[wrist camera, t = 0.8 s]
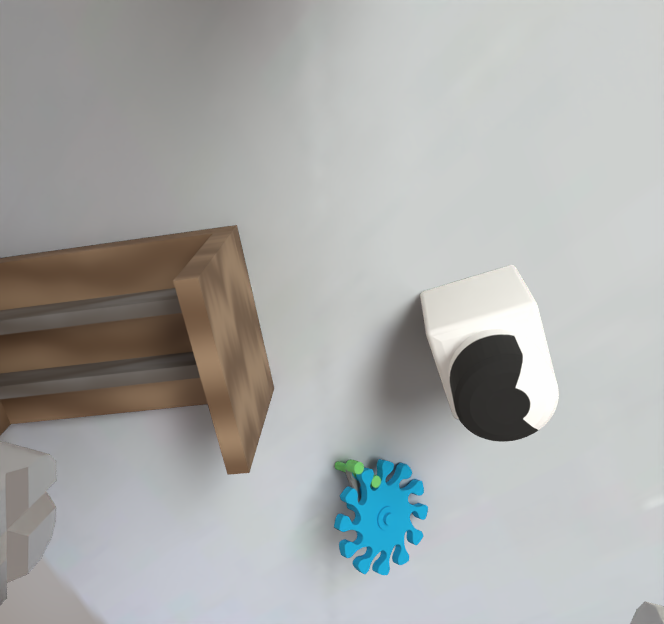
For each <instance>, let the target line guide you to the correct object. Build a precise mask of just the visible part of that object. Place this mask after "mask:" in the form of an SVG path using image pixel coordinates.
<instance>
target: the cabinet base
mask: <svg viewBox="0 0 664 624" xmlns="http://www.w3.org/2000/svg"><path fill="white" fill-rule="evenodd" d="M273 391H274V385H273V381H272V377H271V372H270V368H269V363H268V359H267V355H266V350H265V346H264V342H263V337H262V333H261V328H260V324H259V320H258V315H257V311H256V307H255V302H254V298H253V293H252V289H251V285H250V280H249V276H248V272H247V267H246V263H245V258H244V254H243V250H242V245H241V241H240V237H239V232H238V228H237V225H234V226H227V227H220V228H213V229H206V230H198V231H191V232H184V233H177V234H170V235H163V236H155V237H148V238H141V239H134V240H127V241H120V242H112V243H105V244H98V245H91V246H84V247H77V248H69V249H62V250H55V251H48V252H41V253H34V254H26V255H19V256H12V257H5V258H0V435H1V434H2V433H3V432H4V431H5V430H6V429H7V428H8V427H9V426H10V425H11V424H17V423H27V422H37V421H46V420H56V419H66V418H76V417H86V416H96V415H105V414H115V413H125V412H135V411H145V410H154V409H164V408H174V407H184V406H194V405H203V404H208V406H209V410H210V414H211V417H212V421H213V424H214V428H215V431H216V435H217V438H218V442H219V446H220V449H221V453H222V456H223V460H224V463H225V467H226V470H227V474H240V473H249V472H250V469H251V465H252V462H253V458H254V455H255V452H256V448H257V445H258V442H259V438H260V435H261V431H262V428H263V425H264V421H265V418H266V415H267V411H268V408H269V404H270V401H271V398H272V394H273Z"/></svg>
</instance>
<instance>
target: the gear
mask: <svg viewBox="0 0 664 624" xmlns="http://www.w3.org/2000/svg"><path fill="white" fill-rule="evenodd" d="M393 468H394V464H393V463H392V462H389V461H386V460H381V459H379V460H378V462H377V475H374V472H373V470H372V469H369V468H364V465H363V463H361V462H358V461H355V460H348V461H347V462H346V464H345V463H342V462H336V463H335V469H337V470H340V471H343V472H346V476H347V478H348V481H349V483H350V485H351V487H352V488H351V487H346V488H345V489H344V491H343V492H342V493H341V495H340V498H341V500H342V501H343V502H346V503H347V508H348V509H350V510H353V511H354V512H355V519H354V521H353V522H351V520H350V518H349V517H348V516H346V515H343V514H338V515H337V516H336V519H335V524H334V528H336V529H338V530H340V531H342V532H345V531H348V530H355V531H356V532H357V539H356V540H355V541H354V542H350V541H348V540H346V539H344V540H342V541H340V542H339V549H340V553H341V555H342V556H344V557H346V558H350V557H352V556H353V555H354V553H355V552H356V551H357V550H359V549H360V548H363V547H367V551H366V553H365V554H364V555H362V556H358V557H356V558H355V559H354V560H353V566H354V567H355V568H356V569H357V570H358V571H359V572H361V573H363V574H366V573H367V572H368V571H369V568H370V565H371V562H372V560H373V559H374V557H375V556H376V555H377V554H378V553H379V552H380V551H381V555H380V557H379V558H378V559H377V560H376V561H375V562H374V564H373V567H372V570H373V571H375V572H377V573H379V574H381V575H388V573H389V570H390V566H389V559H390V555H391V552H392V550H393V548H394V546H395V545H396V547H395V550H394V553H393V556H392V560H393V562H394V563H396V564H398V565H402V564H405V563H406V562H408V561H409V554H408V553H407V551H406V549H405V545H404V535H405V532H406V531H407V540H408V542H410V543H412V544H414V545H417V544H418V543H419V542H420V541H421V539H422V538H423V533H422V532H421V531H419V530H417V529H415V528H414V527H413V525H412V523H411V521H410V514H411V513H413V515H414V516H415V517H417V518H419V519H422V520H424V519H425V518H426V516H427V512H428V507H427V506H426V505H423V504H420V503H417V504H414V505H411V504H410V503H409V502H408V496H409V495H410V493H412V494H415V495H422V494H423V493H424V487H423V483H422V481H419V480H416V479H413V480H412V481H411V482H410V483H409V484H408V485H407V486H406V487H404V488H399V483H400V481H401V480H402V479H408V478H410V477H411V475H412V471H411V469H410V467H409V466H408V465H407V464H403V463H399V464H398V465H397V467H396V470H395V473H394V475H393V476H392V478H391V479H390V480H389V481H388V482H386V481H385V480H386V477H387V475H388V474H390V473H391V472H392V471H393ZM371 486H372V488H371Z"/></svg>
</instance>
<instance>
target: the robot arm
mask: <svg viewBox="0 0 664 624" xmlns="http://www.w3.org/2000/svg"><path fill="white" fill-rule="evenodd" d="M56 481H57V477H56V460H55V459H54V458H53V457H52V456H51V455H50V454H47V453H43V452H40V451H36V450H32V449H29V448H25V447H21V446H18V445H14V444H10V443H7V442H3V441H0V605H1V604H2V603H3V602H4V601H5V600H6V599H7V583H8V582H11V581H13V580H15V579H17V578H20V577H22V576H24V575H27V574H29V572H30V571H31V570H32V569H33V567H34V566H35V565H36V564H37V563H38V562H39V561H40V559H41V558H42V556H43V554H44V552H45V550H46V548H47V546H48V544H49V542H50V540H51V538H52V534H53V530H54V526H55V522H56V506H55V505H54V503H53V501H52V500H51V498H50V496H49V495H48V493H47V492H46V491H47V490H48V489H49V488H50V487H51V486H52V485H53V484H54V483H55V482H56ZM630 624H664V606H661V605H657V604H653V603H649V602H644V603H643V604H642V605H641V606H640V607H639V608H638V609H637V610H636V612H635V614H634V616H633V619H632V621H631V623H630Z"/></svg>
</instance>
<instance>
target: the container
mask: <svg viewBox="0 0 664 624" xmlns="http://www.w3.org/2000/svg"><path fill="white" fill-rule="evenodd" d="M420 298H421V305H422V311H423V318H424V324H425V331H426V336H427V339H428V342H429V345H430V348H431V351H432V354H433V357H434V360H435V363H436V366H437V369H438V372H439V375H440V378H441V381H442V384H443V387H444V390H445V393H446V396H447V399H448V402H449V405H450V408H451V411H452V414H453V416H454V417H455V419H459V420H460V422H461V423H462V424H463V425H464V426H465V427H466V428H467V429H468V430H469V431H470V432H472V433H473V434H475V435H477V436H479V437H481V438H484V439H488V440H492V441H513V440H518V439H522V438H524V437H527V436H529V435H531V434H533V433H535V432H536V431H538V430H539V429H541V428H542V427H543V426H544V425H545V424H546V423H547V422H548V421H549V420H550V418H551V417H552V415H553V414H554V412H555V410H556V407H557V404H558V397H559V393H558V385H557V381H556V377H555V373H554V369H553V365H552V361H551V357H550V353H549V349H548V345H547V341H546V337H545V333H544V329H543V325H542V322H541V318H540V314H539V310H538V306H537V303H536V301H535V300H534V298H533V296H532V294H531V293H530V291H529V289H528V288H527V286H526V284H525V282H524V281H523V279H522V277H521V276H520V274H519V272H518V270H517V269H516V267H515V266H513V265H509V266H505V267H502V268H499V269H495V270H492V271H489V272H485V273H482V274H479V275H475V276H472V277H469V278H465V279H462V280H459V281H455V282H452V283H449V284H446V285H442V286H439V287H436V288H432V289H429V290H426V291H423V292H422V293H421V294H420Z"/></svg>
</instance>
